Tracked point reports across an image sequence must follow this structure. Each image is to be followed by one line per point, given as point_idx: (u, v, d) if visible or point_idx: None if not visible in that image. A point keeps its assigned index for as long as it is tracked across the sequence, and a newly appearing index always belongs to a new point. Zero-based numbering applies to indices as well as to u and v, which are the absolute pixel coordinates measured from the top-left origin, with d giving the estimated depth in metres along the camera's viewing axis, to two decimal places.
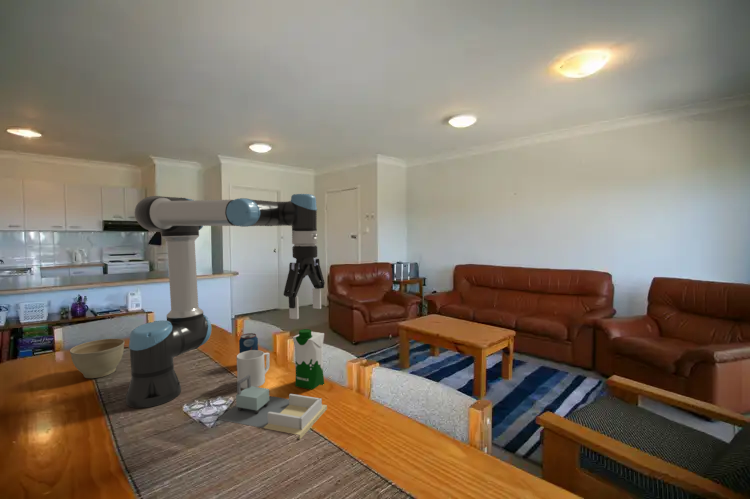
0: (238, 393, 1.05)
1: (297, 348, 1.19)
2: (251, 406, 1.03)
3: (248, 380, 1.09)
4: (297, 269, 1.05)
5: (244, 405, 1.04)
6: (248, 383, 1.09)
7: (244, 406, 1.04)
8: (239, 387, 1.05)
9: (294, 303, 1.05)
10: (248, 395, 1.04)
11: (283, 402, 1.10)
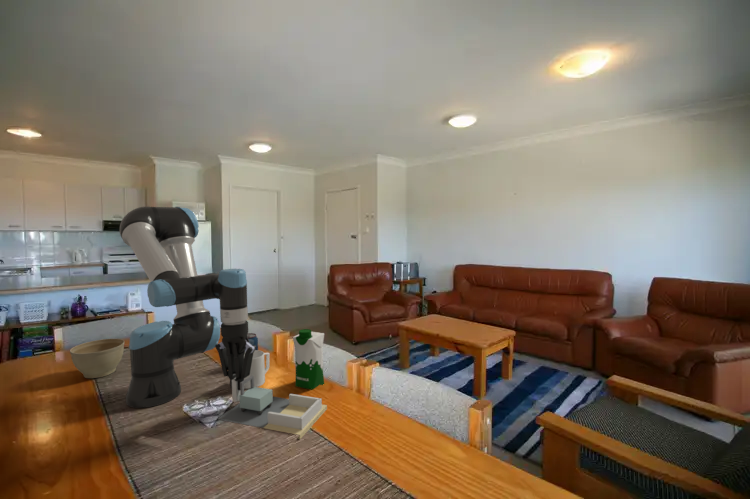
0: (241, 394, 1.04)
1: (297, 348, 1.19)
2: (254, 407, 1.03)
3: (251, 381, 1.09)
4: (219, 350, 1.07)
5: (247, 406, 1.03)
6: (251, 384, 1.09)
7: (247, 407, 1.03)
8: (242, 388, 1.04)
9: (232, 384, 1.07)
10: (251, 396, 1.04)
11: (283, 402, 1.10)
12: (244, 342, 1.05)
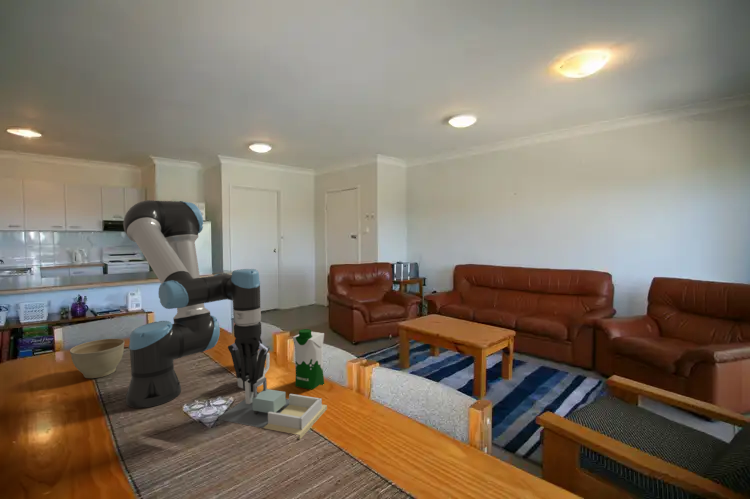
0: (254, 396, 1.03)
1: (297, 348, 1.19)
2: (268, 409, 1.01)
3: (264, 383, 1.07)
4: (231, 351, 1.06)
5: (260, 408, 1.02)
6: (264, 386, 1.07)
7: (261, 410, 1.02)
8: (255, 390, 1.03)
9: (245, 386, 1.06)
10: (265, 398, 1.02)
11: None
12: (257, 343, 1.03)
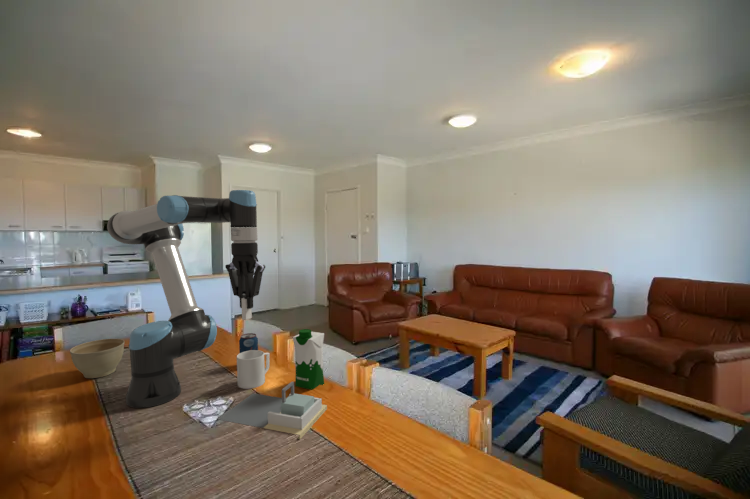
0: (283, 401, 1.00)
1: (297, 348, 1.19)
2: (297, 415, 0.98)
3: (292, 387, 1.04)
4: (229, 270, 1.11)
5: (290, 414, 0.99)
6: (291, 390, 1.04)
7: None
8: (284, 395, 1.00)
9: (241, 303, 1.11)
10: (294, 403, 0.99)
11: None
12: (254, 260, 1.08)
